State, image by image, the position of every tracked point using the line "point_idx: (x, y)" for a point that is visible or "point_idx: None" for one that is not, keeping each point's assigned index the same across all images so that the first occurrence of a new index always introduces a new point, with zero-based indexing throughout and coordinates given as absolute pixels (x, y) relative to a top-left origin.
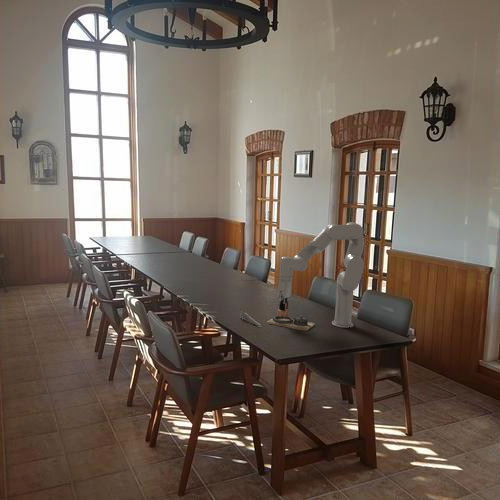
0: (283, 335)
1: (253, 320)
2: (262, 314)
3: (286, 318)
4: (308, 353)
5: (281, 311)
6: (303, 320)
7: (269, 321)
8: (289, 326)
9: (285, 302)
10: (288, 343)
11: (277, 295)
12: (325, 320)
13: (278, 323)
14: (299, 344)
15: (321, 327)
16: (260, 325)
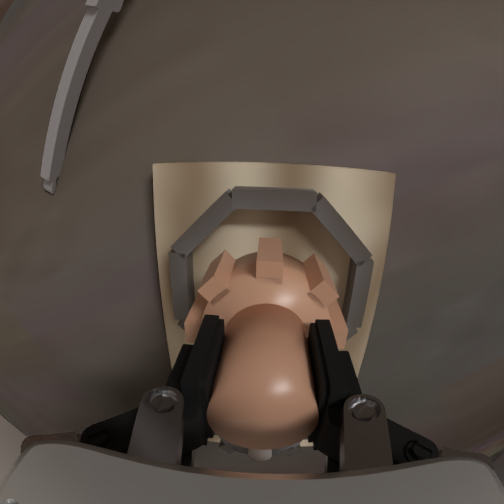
0: (46, 351)
1: (57, 92)
2: (409, 24)
3: (347, 288)
4: (17, 426)
5: (193, 338)
6: (235, 448)
7: (162, 186)
8: (172, 359)
9: (297, 432)
10: (11, 379)
11: (11, 475)
12: (442, 428)
13: (162, 278)
14: (35, 410)
15: (308, 459)
16: (45, 178)
